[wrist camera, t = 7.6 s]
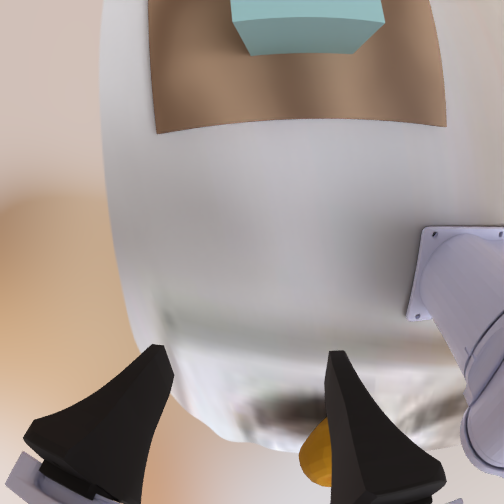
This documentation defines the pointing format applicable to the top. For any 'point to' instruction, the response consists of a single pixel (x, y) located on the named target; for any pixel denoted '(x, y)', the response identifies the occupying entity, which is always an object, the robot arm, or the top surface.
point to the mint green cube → (306, 25)
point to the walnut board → (290, 71)
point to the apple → (317, 455)
